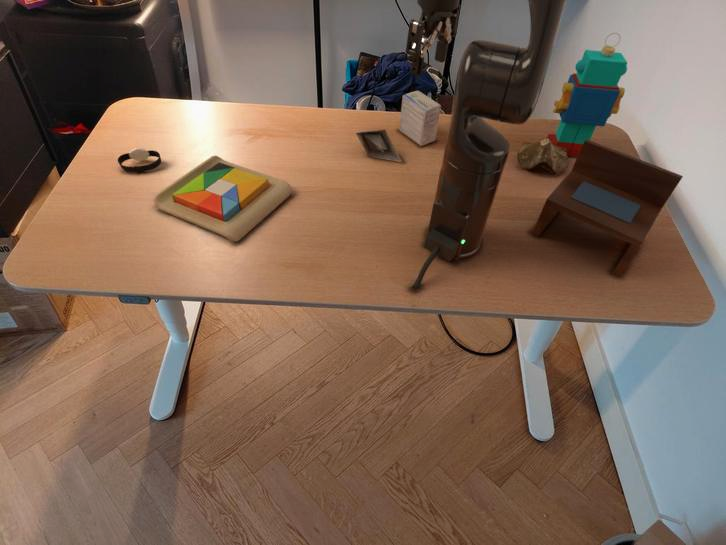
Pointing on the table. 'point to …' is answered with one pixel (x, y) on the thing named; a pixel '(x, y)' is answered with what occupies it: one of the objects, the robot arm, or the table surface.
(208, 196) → the wooden puzzle
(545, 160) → the fossilized seashell
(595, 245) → the table surface
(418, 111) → the medicine box
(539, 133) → the table surface
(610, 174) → the wooden toy chair
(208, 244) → the table surface
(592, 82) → the toy robot
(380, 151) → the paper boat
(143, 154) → the watch
